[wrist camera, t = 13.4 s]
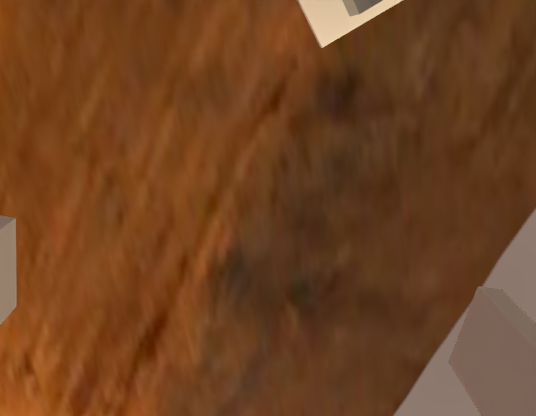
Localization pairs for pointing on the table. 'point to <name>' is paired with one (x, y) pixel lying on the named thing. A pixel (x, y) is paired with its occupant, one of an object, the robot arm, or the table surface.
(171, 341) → the table surface
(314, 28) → the socket block
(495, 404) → the robot arm
